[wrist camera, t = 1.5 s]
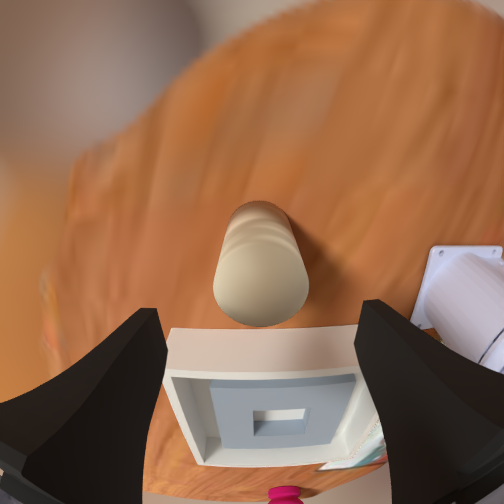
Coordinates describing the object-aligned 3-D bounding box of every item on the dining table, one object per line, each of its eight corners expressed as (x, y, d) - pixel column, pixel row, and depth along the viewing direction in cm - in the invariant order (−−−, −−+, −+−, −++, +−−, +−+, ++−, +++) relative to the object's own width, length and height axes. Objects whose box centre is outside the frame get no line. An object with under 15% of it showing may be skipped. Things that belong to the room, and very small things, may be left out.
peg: (291, 200, 17) (312, 244, 11) (289, 259, 19) (304, 325, 13) (226, 201, 17) (209, 246, 11) (229, 259, 19) (217, 326, 13)
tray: (389, 321, 21) (410, 357, 17) (346, 429, 29) (353, 457, 25) (171, 327, 22) (157, 368, 17) (202, 434, 29) (198, 464, 25)
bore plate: (350, 364, 22) (356, 381, 20) (327, 429, 27) (330, 443, 25) (212, 369, 22) (209, 387, 21) (224, 434, 27) (223, 448, 26)
